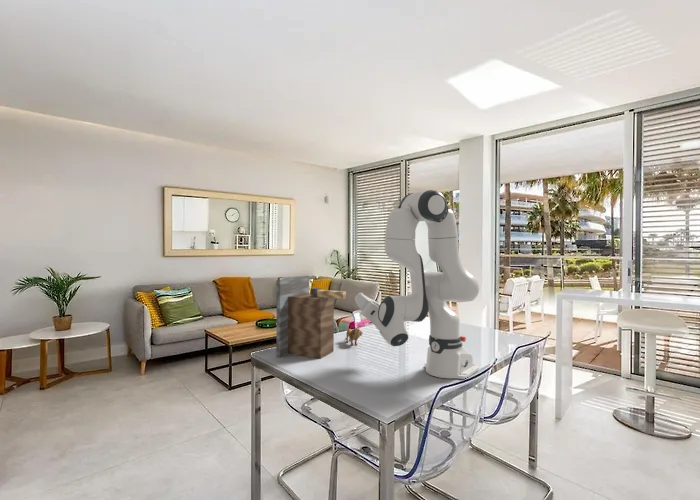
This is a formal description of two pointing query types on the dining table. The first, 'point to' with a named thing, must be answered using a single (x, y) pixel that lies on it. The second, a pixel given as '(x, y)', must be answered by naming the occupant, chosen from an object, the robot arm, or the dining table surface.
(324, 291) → the light wooden bar
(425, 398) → the dining table surface
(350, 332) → the lion figurine
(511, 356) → the dining table surface
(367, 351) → the dining table surface
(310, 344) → the brown tall block
